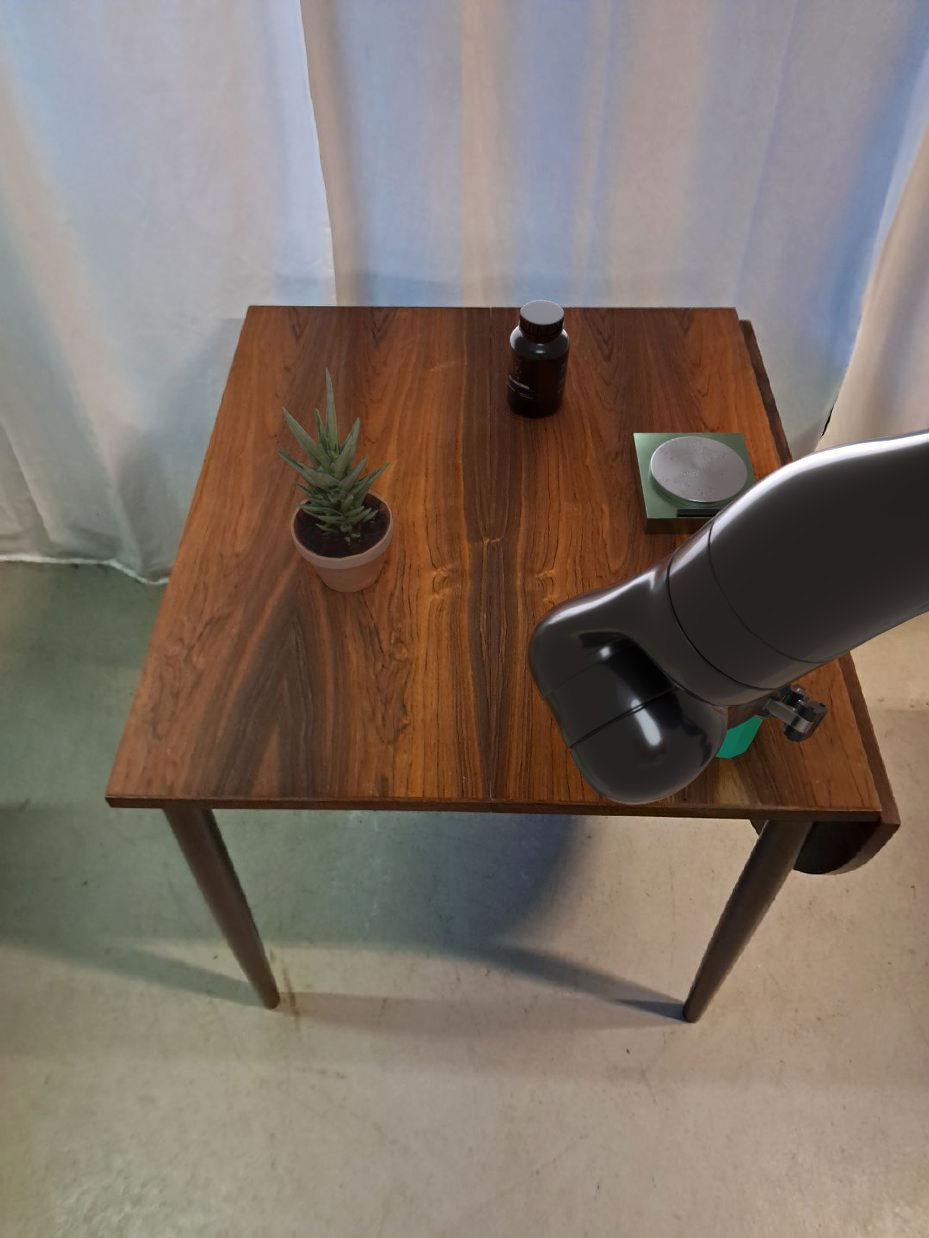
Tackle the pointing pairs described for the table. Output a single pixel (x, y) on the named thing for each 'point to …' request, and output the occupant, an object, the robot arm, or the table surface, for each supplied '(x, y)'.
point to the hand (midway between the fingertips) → (747, 668)
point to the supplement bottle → (538, 360)
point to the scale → (688, 478)
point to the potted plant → (338, 507)
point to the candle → (739, 738)
